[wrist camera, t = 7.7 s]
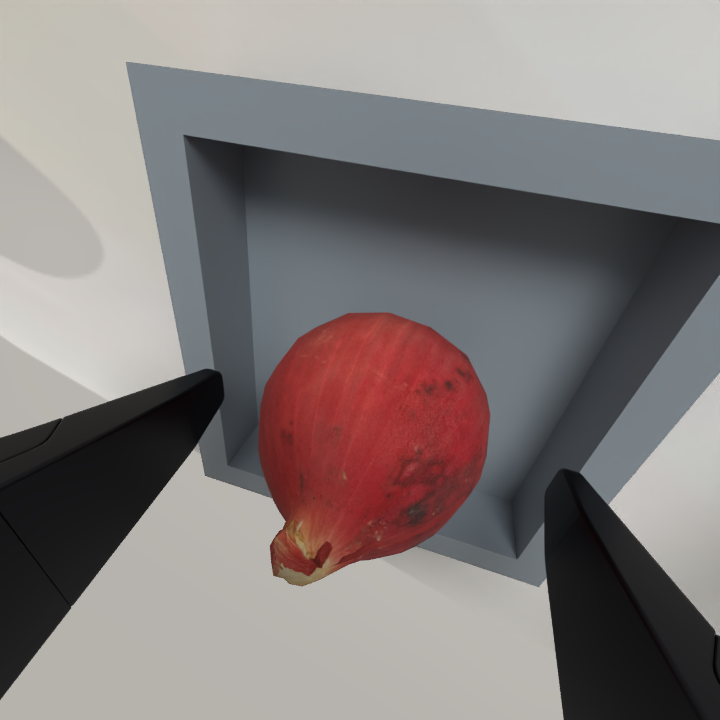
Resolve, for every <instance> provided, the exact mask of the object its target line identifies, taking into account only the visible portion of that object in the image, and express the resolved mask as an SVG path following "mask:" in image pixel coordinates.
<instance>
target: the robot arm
mask: <svg viewBox="0 0 720 720" xmlns="http://www.w3.org/2000/svg"><path fill="white" fill-rule="evenodd" d="M224 397H225V392H224V384H223V376H222V374H221V372H219V371H216V370H213V369H208V368H206V369H203V370H200V371H197V372H194V373H191V374H188V375H185V376H182V377H179V378H176V379H173V380H171V381H168V382H165V383H162V384H159V385H156V386H153V387H150V388H147V389H144V390H141V391H138V392H136V393H133V394H130V395H127V396H124V397H121V398H118V399H115V400H112V401H109V402H106V403H104V404H101V405H98V406H95V407H92V408H89V409H86V410H83V411H80V412H77V413H74V414H72V415H69V416H66V417H64V418H63V419H61V418H60V419H57V420H54V421H51V422H48V423H46V424H42V425H39V426H36V427H33V428H30V429H27V430H24V431H21V432H18V433H15V434H12V435H8V436H5V437H2V438H0V700H1V698H2V697H3V696H4V694H5V693H6V692H7V690H8V689H9V688H10V687H11V685H12V684H13V683H14V681H15V680H16V679H17V678H18V676H19V675H20V674H21V672H22V671H23V670H24V668H25V667H26V666H27V665H28V663H29V662H30V661H31V659H32V658H33V657H34V655H35V654H36V653H37V652H38V650H39V649H40V648H41V646H42V645H43V644H44V643H45V641H46V640H47V639H48V637H49V636H50V635H51V634H52V632H53V631H54V630H55V628H56V627H57V626H58V624H59V623H60V622H61V621H62V619H63V618H64V617H65V615H66V614H67V613H68V612H69V610H70V609H71V606H72V605H73V604H74V603H75V602H76V601H77V599H78V598H79V597H80V596H81V594H82V593H83V592H84V590H85V589H86V588H87V587H88V585H89V584H90V583H91V581H92V580H93V579H94V577H95V576H96V575H97V574H98V572H99V571H100V570H101V568H102V567H103V566H104V565H105V563H106V562H107V560H108V559H109V558H110V557H111V555H112V554H113V553H114V552H115V550H116V549H117V548H118V546H119V545H120V543H121V542H122V541H123V540H124V539H125V537H126V536H127V535H128V533H129V532H130V531H131V530H132V528H133V527H134V526H135V524H136V523H137V522H138V521H139V519H140V518H141V516H142V515H143V514H144V513H145V511H146V510H147V509H148V507H149V506H150V505H151V504H152V502H153V501H154V500H155V498H156V497H157V496H158V494H159V493H160V492H161V491H162V489H163V488H164V487H165V486H166V484H167V483H168V482H169V480H170V479H171V478H172V476H173V475H174V474H175V472H176V471H177V470H178V469H179V467H180V466H181V465H182V463H183V462H184V461H185V460H186V458H187V457H188V456H189V454H190V453H191V452H192V450H193V449H194V448H195V446H196V445H197V443H198V442H199V440H200V439H201V437H202V435H203V434H204V432H205V431H206V429H207V427H208V426H209V424H210V422H211V421H212V419H213V418H214V416H215V414H216V413H217V411H218V409H219V408H220V406H221V405H222V403H223V401H224ZM544 555H545V568H546V577H547V585H548V593H549V602H550V610H551V618H552V626H553V635H554V643H555V651H556V659H557V667H558V676H559V684H560V692H561V700H562V709H563V717H564V720H720V636H719V635H716V632H715V630H714V629H713V627H712V626H711V625H710V624H709V623H708V622H707V620H706V619H705V618H704V617H703V616H702V615H701V613H700V612H699V611H698V610H697V609H696V608H695V606H694V605H693V604H692V603H691V602H690V601H689V599H688V598H687V597H686V596H685V595H684V593H683V592H682V591H681V590H680V589H679V588H678V586H677V585H676V584H675V583H674V582H673V581H672V579H671V578H670V577H669V576H668V575H667V574H666V572H665V571H664V570H663V569H662V568H661V567H660V565H659V564H658V563H657V562H656V561H655V559H654V558H653V557H652V556H651V555H650V554H649V552H648V551H647V550H646V549H645V548H644V547H643V545H642V544H641V543H640V542H639V541H638V540H637V538H636V537H635V536H634V535H633V534H632V533H631V531H630V530H629V529H628V528H627V527H626V525H625V524H624V523H623V522H622V521H621V520H620V518H619V517H618V516H617V515H616V514H615V513H614V511H613V510H612V509H611V508H610V507H609V506H608V504H607V503H606V502H605V501H604V500H603V499H602V497H601V496H600V495H599V494H598V493H597V491H596V490H595V489H594V488H593V487H592V486H591V484H590V483H589V482H588V481H587V480H586V479H585V477H584V476H583V475H582V474H581V473H579V472H577V471H573V470H570V469H566V468H561V469H559V470H558V471H557V473H556V474H555V476H554V477H553V479H552V481H551V482H550V484H549V485H548V487H547V488H546V491H545V495H544Z"/></svg>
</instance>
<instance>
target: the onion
mask: <svg viewBox="0 0 720 720" xmlns="http://www.w3.org/2000/svg"><path fill="white" fill-rule="evenodd" d="M489 425H490V410H489V404H488V399H487V394H486V392H485V390H484V388H483V386H482V384H481V382H480V380H479V378H478V376H477V374H476V372H475V370H474V368H473V366H472V364H471V362H470V360H469V358H468V356H467V355H466V354H465V353H464V352H462V351H461V350H460V349H458V348H457V347H456V346H455V345H453V344H452V343H451V342H449V341H448V340H447V339H445V338H444V337H443V336H441V335H440V334H439V333H438V332H436V331H435V330H434V329H432V328H431V327H429V326H426V325H423V324H420V323H418V322H415V321H412V320H409V319H406V318H404V317H401V316H398V315H395V314H392V313H390V312H381V313H347V314H345V315H342V316H340V317H338V318H336V319H333V320H331V321H329V322H327V323H324V324H322V325H320V326H317V327H315V328H314V329H312V330H310V331H309V332H307V333H306V334H304V335H302V336H301V337H299V338H298V339H297V340H296V341H295V343H294V344H293V345H292V347H291V348H290V349H289V350H288V352H287V353H286V354H285V356H284V357H283V358H282V360H281V361H280V362H279V363H278V365H277V366H276V368H275V369H274V371H273V373H272V374H271V376H270V378H269V379H268V381H267V383H266V384H265V388H264V393H263V397H262V401H261V405H260V418H259V432H258V452H259V458H260V464H261V468H262V471H263V474H264V477H265V480H266V483H267V486H268V488H269V491H270V493H271V496H272V498H273V500H274V502H275V504H276V506H277V508H278V510H279V512H280V513H281V515H282V516H283V518H284V519H285V521H286V522H285V525H284V527H283V529H282V530H280V531H279V533H278V534H277V535H276V537H275V538H274V539H273V541H272V543H271V545H270V551H271V563H272V569H273V575H274V576H276V577H281V578H284V579H285V580H286V581H287V582H288V583H289V584H292V585H298V586H304V585H307V584H310V583H312V582H315V581H317V580H320V579H322V578H324V577H326V576H327V575H329V574H331V573H333V572H335V571H337V570H339V569H341V568H343V567H345V566H347V565H349V564H352V563H355V562H358V561H360V560H371V559H376V558H381V557H385V556H389V555H394V554H398V553H402V552H404V551H406V550H408V549H410V548H413V547H415V546H417V545H419V544H420V543H422V542H424V541H425V540H427V539H429V538H430V537H432V536H434V535H435V534H436V533H437V532H438V531H439V530H440V529H441V528H442V527H443V526H444V525H445V524H446V523H447V522H448V521H449V520H450V519H451V517H452V516H453V515H454V514H455V513H456V511H457V510H458V509H459V508H460V507H461V505H462V504H463V503H464V502H465V501H466V499H467V498H468V497H469V495H470V494H471V492H472V491H473V489H474V488H475V486H476V485H477V483H478V481H479V480H480V478H481V474H482V471H483V467H484V464H485V460H486V456H487V447H488V436H489Z"/></svg>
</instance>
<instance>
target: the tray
mask: <svg viewBox="0 0 720 720" xmlns="http://www.w3.org/2000/svg"><path fill="white" fill-rule="evenodd" d="M126 65H127V71H128V76H129V81H130V86H131V91H132V97H133V102H134V107H135V112H136V118H137V123H138V128H139V133H140V138H141V144H142V149H143V154H144V159H145V165H146V170H147V175H148V180H149V185H150V191H151V196H152V201H153V206H154V212H155V217H156V222H157V227H158V232H159V238H160V243H161V248H162V253H163V258H164V264H165V269H166V274H167V279H168V285H169V290H170V295H171V300H172V305H173V311H174V316H175V321H176V326H177V332H178V337H179V342H180V347H181V352H182V358H183V363H184V368H185V373H186V375H188V374H191V373H194V372H197V371H200V370H203V369H206V368H208V369H213V370H216V371H219V372H221V374H222V376H223V384H224V392H225V397H224V401H223V403H222V405H221V406H220V408H219V409H218V411H217V413H216V414H215V416H214V418H213V419H212V421H211V422H210V424H209V426H208V427H207V429H206V431H205V432H204V434H203V435H202V437H201V439H200V440H199V446H200V452H201V457H202V462H203V467H204V472H205V476H208V477H211V478H214V479H217V480H220V481H223V482H226V483H229V484H232V485H235V486H238V487H241V488H244V489H247V490H250V491H252V492H256V493H258V494H262V495H264V496H267V497H270V498H272V496H271V493H270V491H269V488H268V486H267V483H266V480H265V477H264V474H263V471H262V468H261V464H260V458H259V452H258V432H259V418H260V405H261V401H262V397H263V393H264V388H265V384H266V383H267V381H268V379H269V378H270V376H271V374H272V373H273V371H274V369H275V368H276V366H277V365H278V363H279V362H280V361H281V360H282V358H283V357H284V356H285V354H286V353H287V352H288V350H289V349H290V348H291V347H292V345H293V344H294V343H295V341H296V340H297V339H298V338H299V337H301V336H302V335H304V334H306V333H307V332H309V331H310V330H312V329H314V328H315V327H317V326H320V325H322V324H324V323H327V322H329V321H331V320H333V319H336V318H338V317H340V316H342V315H345V314H347V313H381V312H390V313H392V314H395V315H398V316H401V317H404V318H406V319H409V320H412V321H415V322H418V323H420V324H423V325H426V326H429V327H431V328H432V329H434V330H435V331H436V332H438V333H439V334H440V335H441V336H443V337H444V338H445V339H447V340H448V341H449V342H451V343H452V344H453V345H455V346H456V347H457V348H458V349H460V350H461V351H462V352H464V353H465V354H466V355H467V356H468V358H469V360H470V362H471V364H472V366H473V368H474V370H475V372H476V374H477V376H478V378H479V380H480V382H481V384H482V386H483V388H484V390H485V392H486V394H487V399H488V404H489V410H490V425H489V436H488V447H487V456H486V460H485V464H484V467H483V471H482V474H481V478H480V480H479V481H478V483H477V485H476V486H475V488H474V489H473V491H472V492H471V494H470V495H469V497H468V498H467V499H466V501H465V502H464V503H463V504H462V505H461V507H460V508H459V509H458V510H457V511H456V513H455V514H454V515H453V516H452V517H451V519H450V520H449V521H448V522H447V523H446V524H445V525H444V526H443V527H442V528H441V529H440V530H439V531H438V532H437V533H436V534H435V535H434V536H432V537H430V538H429V539H427V540H425V541H424V542H422V543H420V544H419V545H417V547H420V548H423V549H426V550H429V551H432V552H435V553H438V554H441V555H444V556H447V557H450V558H453V559H456V560H459V561H462V562H465V563H468V564H471V565H474V566H477V567H480V568H483V569H486V570H489V571H492V572H495V573H498V574H501V575H504V576H507V577H510V578H513V579H516V580H519V581H522V582H525V583H528V584H531V585H534V586H537V587H539V586H540V585H541V584H542V582H543V581H544V580H545V579H546V578H547V577H546V568H545V555H544V495H545V491H546V488H547V487H548V485H549V484H550V482H551V481H552V479H553V477H554V476H555V474H556V473H557V471H558V470H559V469H561V468H566V469H570V470H573V471H577V472H579V473H581V474H582V475H583V476H584V477H585V479H586V480H587V481H588V482H589V483H590V484H591V486H592V487H593V488H594V489H595V490H596V491H597V493H598V494H599V495H600V496H601V497H602V499H603V500H604V501H605V502H606V503H607V504H609V503H610V502H611V501H612V500H613V498H614V497H615V496H616V495H617V494H618V492H619V491H620V490H621V489H622V488H623V486H624V485H625V484H626V483H627V482H628V481H629V479H630V478H631V477H632V476H633V475H634V473H635V472H636V471H637V470H638V469H639V468H640V466H641V465H642V464H643V463H644V462H645V460H646V459H647V458H648V457H649V456H650V455H651V453H652V452H653V451H654V450H655V449H656V447H657V446H658V445H659V444H660V443H661V442H662V440H663V439H664V438H665V437H666V436H667V434H668V433H669V432H670V431H671V430H672V428H673V427H674V426H675V425H676V424H677V423H678V421H679V420H680V419H681V418H682V417H683V415H684V414H685V413H686V412H687V411H688V410H689V408H690V407H691V406H692V405H693V404H694V402H695V401H696V400H697V399H698V398H699V397H700V395H701V394H702V393H703V392H704V391H705V389H706V388H707V387H708V386H709V385H710V384H711V382H712V381H713V380H714V379H715V378H716V376H717V375H718V374H719V373H720V141H719V140H711V139H704V138H696V137H689V136H681V135H674V134H666V133H659V132H651V131H644V130H636V129H628V128H621V127H613V126H606V125H598V124H591V123H583V122H576V121H568V120H561V119H553V118H546V117H538V116H531V115H523V114H516V113H508V112H500V111H493V110H485V109H478V108H470V107H463V106H455V105H448V104H440V103H433V102H425V101H418V100H410V99H403V98H395V97H388V96H380V95H372V94H365V93H357V92H350V91H342V90H335V89H327V88H320V87H312V86H305V85H297V84H290V83H282V82H275V81H267V80H260V79H252V78H244V77H237V76H229V75H222V74H214V73H207V72H199V71H192V70H184V69H177V68H169V67H162V66H154V65H147V64H139V63H132V62H126Z"/></svg>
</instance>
